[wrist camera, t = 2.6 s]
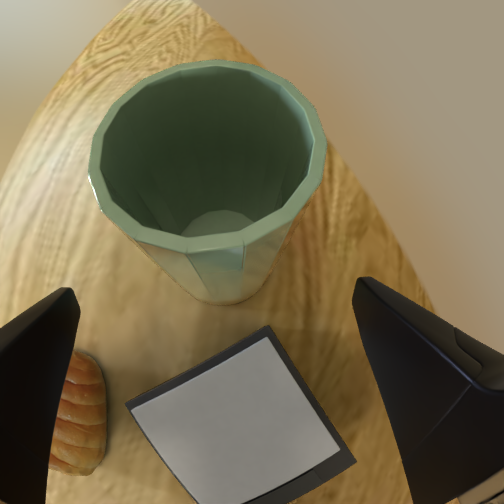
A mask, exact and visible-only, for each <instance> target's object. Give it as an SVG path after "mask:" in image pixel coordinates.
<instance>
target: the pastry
mask: <svg viewBox="0 0 504 504" xmlns="http://www.w3.org/2000/svg"><path fill="white" fill-rule="evenodd" d="M106 432H107V415H106V387H105V383H104V380H103V376H102V372H101V369H100V367H99V366H98V364H97V363H96V361H95V360H94V359H92V358H91V357H89V356H88V355H86V354H84V353H81V352H78V351H74V350H73V352H72V356H71V360H70V364H69V367H68V371H67V375H66V379H65V382H64V386H63V391H62V395H61V399H60V403H59V408H58V413H57V418H56V423H55V428H54V433H53V439H52V445H51V452H50V459H49V464H48V465H49V469H52V470H56V471H59V472H61V473H62V474H66V475H70V476H88V475H90V474H92V473H93V471H94V470H95V468H96V467H97V465H98V464H99V463H100V462H101V461H102V460H103V457H104V452H105V447H106V443H107V439H106Z"/></svg>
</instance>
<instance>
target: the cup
mask: <svg viewBox="0 0 504 504" xmlns="http://www.w3.org/2000/svg"><path fill="white" fill-rule="evenodd" d="M326 150H327V139H326V136H325V133H324V131H323V128H322V125H321V122H320V120H319V117H318V114H317V111H316V109H315V108H314V106H313V105H312V104H311V103H310V102H309V101H308V100H307V98H306V97H305V96H304V95H302V93H301V92H300V91H299V90H298V89H297V88H296V87H295V86H294V85H293V84H292V83H291V82H289V81H288V80H286V79H284V78H282V77H280V76H278V75H276V74H274V73H272V72H270V71H268V70H265V69H263V68H261V67H259V66H255V65H253V64H247V63H241V62H234V61H227V60H217V59H215V60H206V61H198V62H190V63H183V64H179V65H175V66H173V67H170V68H168V69H165V70H163V71H160V72H158V73H156V74H153V75H151V76H149V77H147V78H144V79H143V80H141V81H140V82H139V83H137V84H136V85H135V86H133V87H132V88H131V89H130V90H129V91H127V92H126V93H125V94H124V95H123V96H121V97H120V98H119V99H118V100H117V101H116V102H114V103H113V105H112V106H111V107H110V109H109V110H108V112H107V114H106V115H105V117H104V118H103V120H102V122H101V123H100V125H99V127H98V128H97V130H96V132H95V134H94V137H93V139H92V145H91V152H90V159H89V166H88V176H89V179H90V182H91V185H92V188H93V191H94V194H95V197H96V199H97V202H98V205H99V207H100V210H101V211H102V213H103V214H104V215H105V216H106V217H107V218H108V219H109V220H110V221H111V222H112V223H113V224H114V225H115V226H116V227H117V228H118V229H119V230H120V231H121V232H122V233H124V234H125V235H126V236H127V237H128V238H129V239H130V240H131V241H132V242H133V243H134V244H135V245H136V246H137V247H138V248H139V249H140V250H141V251H142V252H143V253H144V254H145V255H146V256H147V257H149V258H150V259H151V260H152V261H153V262H154V263H155V264H156V265H157V266H158V267H159V268H160V269H161V270H163V271H164V272H165V273H166V274H167V275H168V276H169V277H170V278H171V279H172V280H174V281H175V282H176V283H177V284H178V285H179V286H180V287H181V288H183V289H184V290H185V291H186V292H188V293H189V294H190V295H191V296H193V297H194V298H195V299H197V300H198V301H202V302H204V303H207V304H211V305H217V306H225V305H232V304H237V303H240V302H242V301H244V300H246V299H248V298H250V297H251V296H253V295H254V294H255V293H257V292H258V291H259V289H260V288H261V287H262V286H263V284H264V283H265V281H266V280H267V279H268V277H269V276H270V274H271V272H272V271H273V269H274V267H275V265H276V264H277V262H278V260H279V258H280V256H281V255H282V253H283V251H284V249H285V248H286V246H287V244H288V242H289V240H290V239H291V237H292V235H293V233H294V231H295V230H296V228H297V226H298V224H299V222H300V220H301V219H302V217H303V215H304V213H305V211H306V209H307V208H308V206H309V204H310V202H311V200H312V198H313V197H314V195H315V193H316V191H317V189H318V187H319V185H320V184H321V181H322V177H323V171H324V164H325V157H326Z"/></svg>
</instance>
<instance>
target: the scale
mask: <svg viewBox="0 0 504 504" xmlns="http://www.w3.org/2000/svg"><path fill="white" fill-rule="evenodd" d="M125 405H126V407H127V409H128V410H129V412H130V414H131V415H132V417H133V418H134V420H135V422H136V423H137V425H138V426H139V428H140V429H141V431H142V432H143V434H144V435H145V437H146V438H147V440H148V441H149V443H150V444H151V446H152V447H153V448H154V450H155V451H156V453H157V454H158V455H159V457H160V458H161V459H162V461H163V462H164V463H165V465H166V466H167V467H168V469H169V470H170V471H171V473H172V474H173V475H174V476H175V478H176V479H177V480H178V481H179V483H180V484H181V485H182V486H183V487H184V489H185V490H186V491H187V492H188V493H189V495H190V496H191V497H192V498H193V499H194V500H195V501H196V503H197V504H287V503H289V502H291V501H293V500H295V499H297V498H298V497H300V496H302V495H304V494H306V493H308V492H309V491H311V490H313V489H315V488H316V487H318V486H320V485H322V484H323V483H325V482H327V481H328V480H330V479H331V478H333V477H335V476H336V475H338V474H339V473H341V472H342V471H344V470H346V469H347V468H349V467H350V466H351V465H353V464H354V463H356V462H357V461H356V459H355V458H354V456H353V455H352V453H351V452H350V450H349V449H348V447H347V446H346V444H345V443H344V441H343V440H342V438H341V437H340V435H339V434H338V432H337V431H336V429H335V428H334V426H333V425H332V423H331V422H330V420H329V418H328V417H327V415H326V414H325V412H324V411H323V409H322V408H321V406H320V405H319V403H318V402H317V400H316V398H315V397H314V395H313V394H312V392H311V391H310V389H309V388H308V386H307V384H306V383H305V381H304V380H303V378H302V377H301V375H300V374H299V372H298V370H297V369H296V367H295V366H294V364H293V362H292V361H291V359H290V358H289V356H288V355H287V353H286V351H285V350H284V348H283V347H282V345H281V343H280V342H279V340H278V339H277V337H276V335H275V334H274V332H273V331H272V329H271V327H270V326H269V325H267V326H264V327H262V328H261V329H259V330H257V331H256V332H254V333H252V334H251V335H249V336H247V337H246V338H244V339H242V340H241V341H239V342H237V343H235V344H234V345H232V346H230V347H228V348H227V349H225V350H223V351H221V352H220V353H218V354H216V355H214V356H213V357H211V358H209V359H207V360H205V361H204V362H202V363H200V364H198V365H196V366H194V367H193V368H191V369H189V370H187V371H185V372H183V373H181V374H180V375H178V376H176V377H174V378H172V379H170V380H168V381H166V382H164V383H162V384H160V385H158V386H156V387H154V388H152V389H150V390H148V391H146V392H144V393H142V394H140V395H138V396H137V397H135V398H133V399H131V400H130V401H128V402H126V403H125Z"/></svg>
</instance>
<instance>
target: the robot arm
mask: <svg viewBox="0 0 504 504" xmlns="http://www.w3.org/2000/svg"><path fill="white" fill-rule="evenodd" d="M352 306H353V310H354V313H355V317H356V321H357V324H358V328H359V332H360V336H361V340H362V343H363V346H364V349H365V352H366V355H367V357H368V360H369V363H370V365H371V368H372V371H373V374H374V376H375V379H376V382H377V385H378V388H379V390H380V393H381V396H382V399H383V402H384V405H385V408H386V411H387V414H388V417H389V420H390V423H391V426H392V429H393V433H394V436H395V439H396V442H397V446H398V449H399V452H400V456H401V459H402V463H403V467H404V470H405V474H406V477H407V481H408V485H409V489H410V492H411V496H412V500H413V504H445V503H447V502H449V501H451V500H453V499H455V498H458V501H459V504H504V355H503V354H501V353H499V352H497V351H495V350H494V349H492V348H490V347H488V346H486V345H485V344H483V343H481V342H479V341H477V340H476V339H474V338H472V337H470V336H469V335H467V334H466V333H464V332H462V331H461V330H459V329H457V328H456V327H453V325H451V324H449V323H448V322H446V321H444V320H443V319H441V318H440V317H438V316H436V315H435V314H433V313H431V312H430V311H428V310H426V309H425V308H423V307H421V306H420V305H418V304H416V303H415V302H413V301H411V300H410V299H408V298H406V297H405V296H403V295H401V294H400V293H398V292H396V291H394V290H393V289H391V288H389V287H388V286H386V285H384V284H382V283H381V282H379V281H377V280H375V279H374V278H372V277H359V278H358V279H357V281H356V284H355V289H354V293H353V297H352ZM80 313H81V312H80V306H79V304H78V301H77V299H76V296H75V294H74V291H73V290H72V288H69V287H61V288H59V289H57V290H56V291H54V292H53V293H51V294H50V295H48V296H47V297H45V298H44V299H42V300H41V301H39V302H38V303H36V304H35V305H33V306H32V307H30V308H29V309H27V310H26V311H24V312H23V313H21V314H20V315H19V316H17V317H16V318H14V319H13V320H11V321H10V322H9V323H7V324H6V325H4V326H3V327H2V328H0V504H45V501H46V487H47V477H48V468H49V465H48V464H49V459H50V452H51V445H52V439H53V433H54V428H55V423H56V418H57V413H58V408H59V403H60V399H61V395H62V391H63V386H64V382H65V379H66V375H67V371H68V367H69V364H70V360H71V356H72V352H73V348H74V343H75V337H76V333H77V328H78V323H79V319H80Z"/></svg>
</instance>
